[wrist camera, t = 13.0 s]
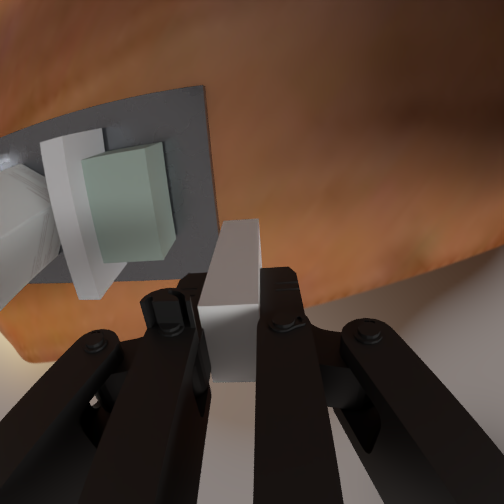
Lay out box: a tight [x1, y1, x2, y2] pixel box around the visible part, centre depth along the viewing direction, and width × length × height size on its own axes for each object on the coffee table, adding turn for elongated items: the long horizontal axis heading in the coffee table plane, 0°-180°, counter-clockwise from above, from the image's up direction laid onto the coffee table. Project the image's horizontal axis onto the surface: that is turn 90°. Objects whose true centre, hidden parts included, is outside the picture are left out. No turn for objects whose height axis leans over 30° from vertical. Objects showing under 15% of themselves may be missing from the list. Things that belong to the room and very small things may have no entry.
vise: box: [0, 85, 220, 284], centre depth 23 cm, size 16×28×7 cm, turn 94°
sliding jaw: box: [40, 128, 176, 300], centre depth 22 cm, size 12×7×6 cm, turn 4°
